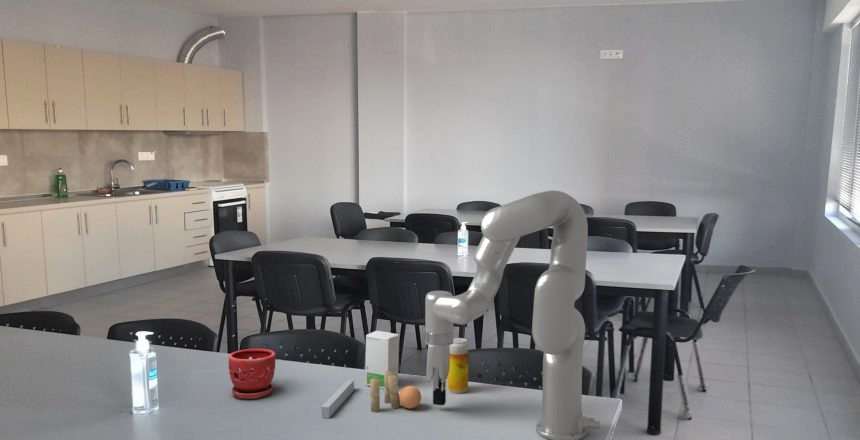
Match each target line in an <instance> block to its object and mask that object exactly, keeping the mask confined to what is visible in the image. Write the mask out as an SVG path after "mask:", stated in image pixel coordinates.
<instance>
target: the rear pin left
mask: <svg viewBox="0 0 860 440" xmlns="http://www.w3.org/2000/svg"><path fill="white" fill-rule="evenodd" d="M370 385H371V386H370V412H372V413H378V412H380V411H381V410H380V409H381V408H380V407H381V405H380V404H381V402H380V399H381V398H380V397H381V395H380V392H381V391H380V389H381V388H379V379H377V378H374V379H371V380H370Z"/></svg>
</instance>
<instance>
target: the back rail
mask: <svg viewBox="0 0 860 440" xmlns="http://www.w3.org/2000/svg"><path fill="white" fill-rule="evenodd" d="M354 391H355V379H347V380H345V382H344V383H343V384H342V385H341V386H340V387H339V388H338V389H337V390H336V391H335V392H334V393H333V394H331V396H330V398H329V397H328V399H327V400H326V401H325V402H324V403H323V404H322V405H321V418H322V419H330V418H331V417H332V416H333V414H334V413H335V412H336V411H337V410H338V409H339V407H340V406H341V405H342V404H343V403H344V402H345V401H346V400H347V399H348V397H350V395H351V394H352V393H353V392H354Z"/></svg>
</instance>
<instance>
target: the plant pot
mask: <svg viewBox="0 0 860 440" xmlns="http://www.w3.org/2000/svg"><path fill="white" fill-rule="evenodd" d="M250 358H251V359H250ZM275 369H276V353H275V351H273V350H271V349H266V348H248V349H242V350H237V351H233V352H231V353H230V354H229V355H228V372H229V377H230V380H231V381H230V382H231V383H232V385H233V387H232V388H231V393H232V394H233V395H234V396H235V397H237V398H240V399H245V400H246V399H247V400H252V399H258V398H263V397H265V396H267V395H269V394H270V393H271V392H272V391H273V389H274V386H273V384H272V381H273V379H274V377H275V376H274V375H275V371H276V370H275Z"/></svg>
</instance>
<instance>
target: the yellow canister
mask: <svg viewBox="0 0 860 440" xmlns="http://www.w3.org/2000/svg"><path fill="white" fill-rule="evenodd" d="M446 380H447V381H446V383H447V384H446V385H447V386H446V388H447V389H448V391H449V392H450V393H451V394H464V393H466V392H467V390H468V389H469V343H468V340H467V339H466V338H464V337H463V338H462V337H453V344H452V345H450V369H449V374H448V376H447V378H446Z"/></svg>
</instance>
